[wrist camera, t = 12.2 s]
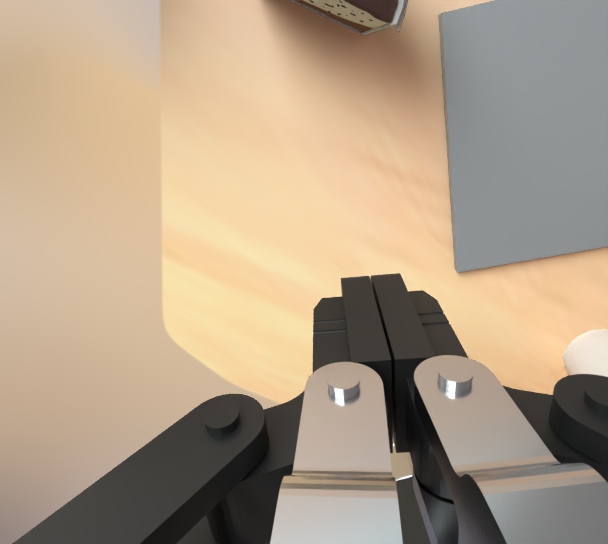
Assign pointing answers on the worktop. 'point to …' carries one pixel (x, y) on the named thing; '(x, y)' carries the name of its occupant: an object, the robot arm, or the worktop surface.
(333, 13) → the food container
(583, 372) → the foam cup
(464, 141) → the plaque display stand
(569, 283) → the worktop surface
